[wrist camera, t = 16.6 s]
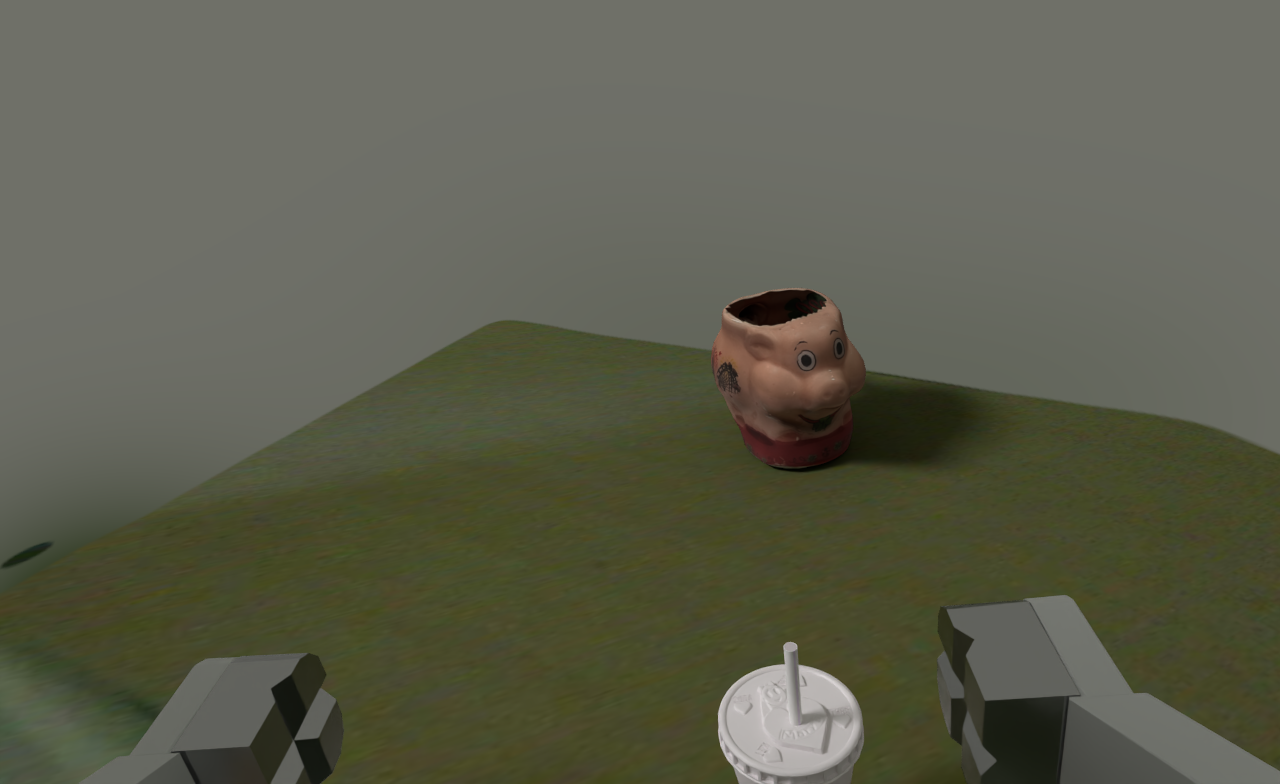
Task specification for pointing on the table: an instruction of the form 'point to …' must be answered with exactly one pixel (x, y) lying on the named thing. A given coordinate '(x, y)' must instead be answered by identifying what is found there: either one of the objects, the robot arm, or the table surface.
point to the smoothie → (790, 726)
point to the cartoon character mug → (788, 375)
